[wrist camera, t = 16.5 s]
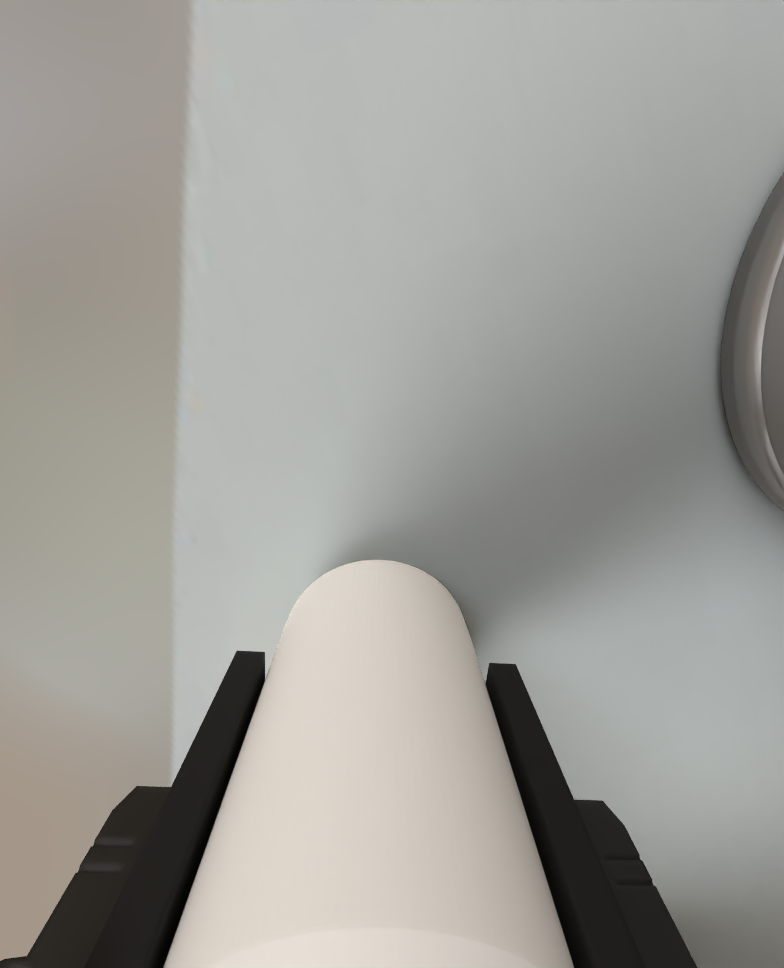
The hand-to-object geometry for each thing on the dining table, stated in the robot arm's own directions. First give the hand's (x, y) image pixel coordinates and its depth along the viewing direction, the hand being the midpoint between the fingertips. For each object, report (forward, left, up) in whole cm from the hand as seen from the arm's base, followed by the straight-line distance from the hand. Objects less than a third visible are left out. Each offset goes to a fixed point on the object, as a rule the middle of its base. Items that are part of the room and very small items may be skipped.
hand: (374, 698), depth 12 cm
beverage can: (0, 0, -4) cm, 4 cm away
